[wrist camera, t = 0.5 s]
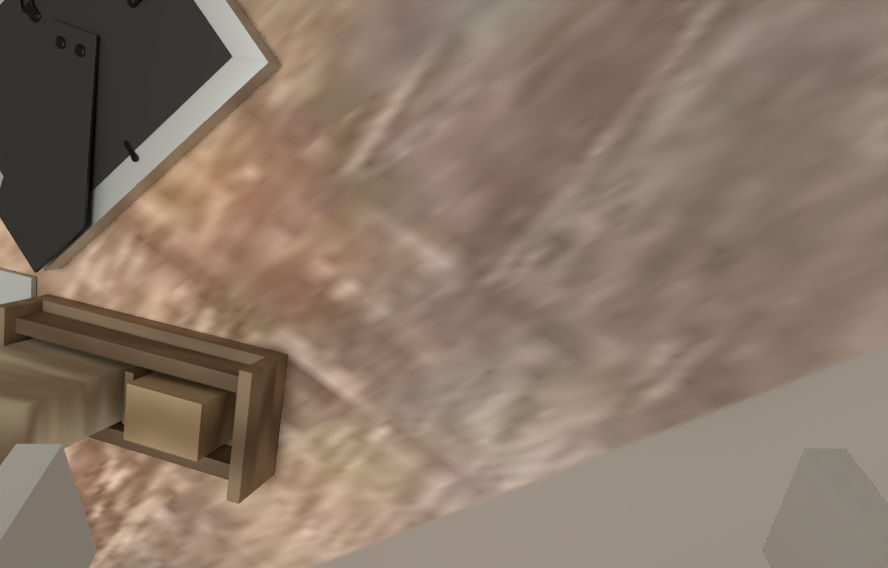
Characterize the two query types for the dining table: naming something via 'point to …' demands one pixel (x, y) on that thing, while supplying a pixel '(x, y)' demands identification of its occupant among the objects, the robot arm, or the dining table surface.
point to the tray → (178, 355)
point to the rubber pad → (16, 286)
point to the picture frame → (109, 106)
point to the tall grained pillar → (56, 394)
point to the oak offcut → (178, 415)
